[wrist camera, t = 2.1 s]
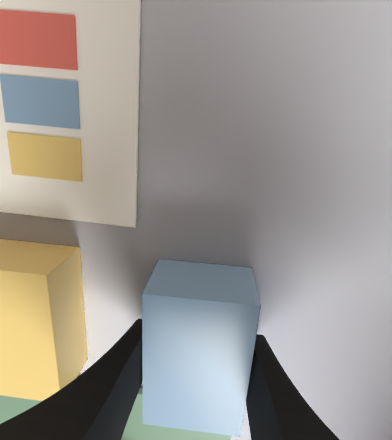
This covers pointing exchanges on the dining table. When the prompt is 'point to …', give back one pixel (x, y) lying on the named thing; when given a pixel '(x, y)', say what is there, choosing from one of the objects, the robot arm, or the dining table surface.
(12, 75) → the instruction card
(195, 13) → the dining table surface
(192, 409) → the slate-blue brick
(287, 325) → the dining table surface
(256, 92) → the dining table surface
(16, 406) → the baseplate
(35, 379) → the ochre brick
